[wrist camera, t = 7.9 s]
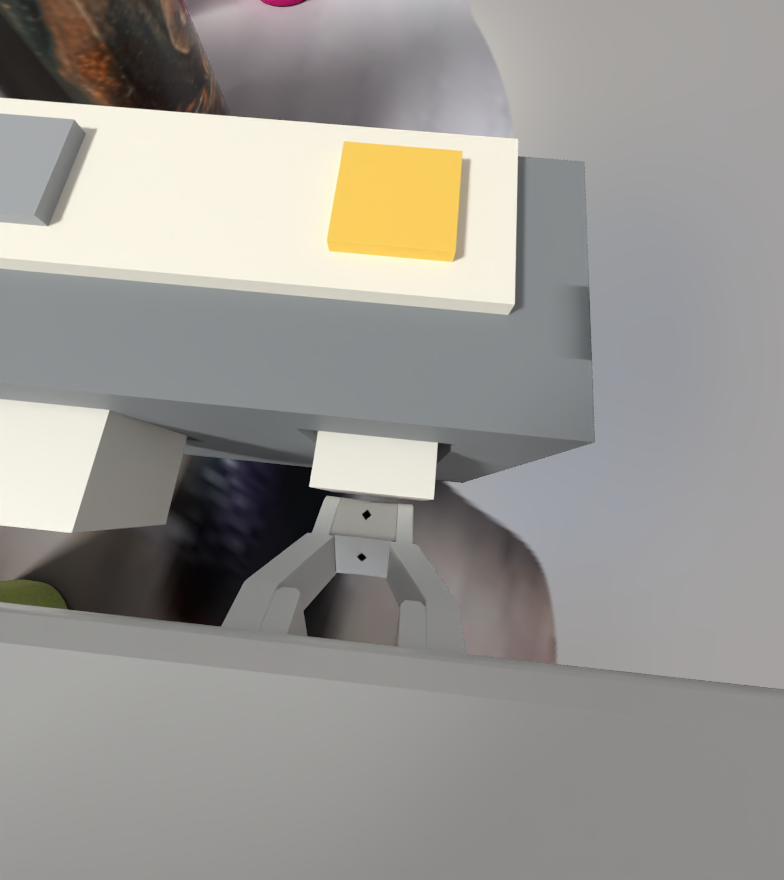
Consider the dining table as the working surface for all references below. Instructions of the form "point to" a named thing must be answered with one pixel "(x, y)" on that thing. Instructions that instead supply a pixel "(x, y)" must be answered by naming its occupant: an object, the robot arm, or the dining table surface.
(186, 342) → the console
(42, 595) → the plant pot
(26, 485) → the button
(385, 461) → the button
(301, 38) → the dining table surface
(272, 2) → the pepper mill
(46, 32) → the jar
